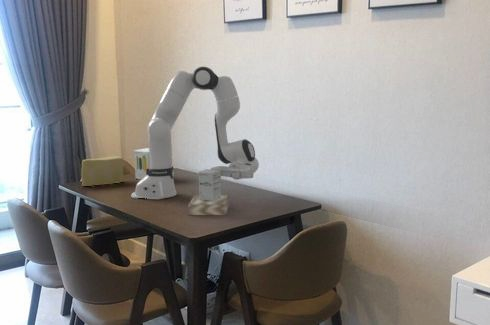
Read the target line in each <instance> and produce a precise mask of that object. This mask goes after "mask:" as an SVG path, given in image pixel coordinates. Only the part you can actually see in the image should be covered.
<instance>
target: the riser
mask: <svg viewBox="0 0 490 325" xmlns="http://www.w3.org/2000/svg"><path fill="white" fill-rule="evenodd" d="M229 201H230V200H229V195H228V194H221V198H220V199H218V200H215V201H207V200H199V194H197V195H196V194H194V195H193V196H192V198H191V200H190V202H188V204H187V205H188V206H187V207H188V208H187V209H188V211H187V212H188V213H187V214H188V216H212V215H213V216H227V213H228V209H229V206H230V202H229Z"/></svg>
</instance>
